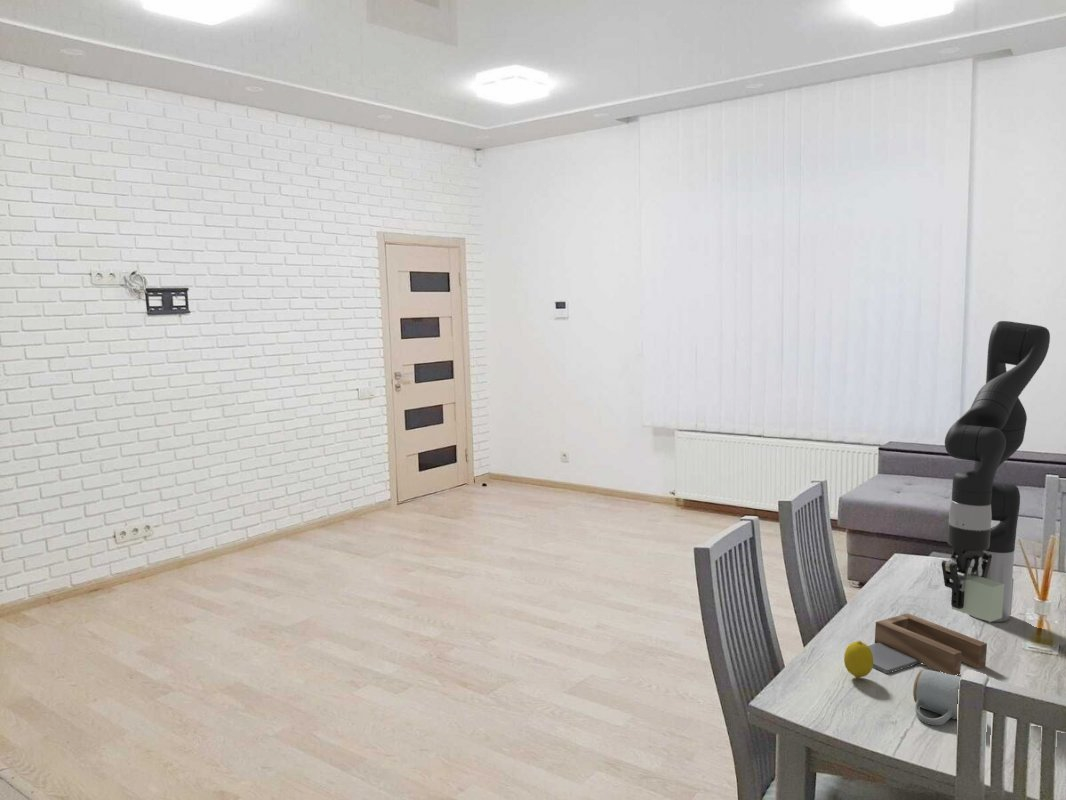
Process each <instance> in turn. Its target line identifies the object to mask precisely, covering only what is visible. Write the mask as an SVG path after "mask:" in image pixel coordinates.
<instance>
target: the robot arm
mask: <svg viewBox="0 0 1066 800" xmlns="http://www.w3.org/2000/svg"><path fill="white" fill-rule="evenodd" d="M1050 342H1051V333H1050V331H1049V329H1048V328H1047V327H1046V326H1042V325H1037V324H1031V323H1030V324H1029V323H1024V322H1016V321H1009V320H1000V321H998V322H996V323H995V324H994V325H993V327H992V329H991V332H990V333H989V338H988V343H987V345H988V347H987V359H986V379H985V384H984V385H983V386H982V387H981V388H980V389H979V391H978V392H977V394H976V396H975V397H974V400H973V402H972V404H971V406H970V408H969V409H968V410H967V411H965V412H964V414H963V415H962V416H961V417H959V418H958V419H957V420H956V421H955V422H954V423H953V424H952V425H951V426H950V428H949V429H948V431H947V433H946V435H945V438H944V448H945V451H946V452H947V454H948V455H949V456H950V457H951V458H953V459H959V460H965V461H972V462H973V461H974V466H973V468H972V470H961V471H957V472H955V474H954V475H953V478H952V484H951V485H952V488H951V499H950V500H951V502H950V506H949V513H948V525H947V526H948V529H947V530H948V531H947V543H948V545H949V546H950V547H951V548H952V552H951V555H950V559H949V560H942V561H941V569H942V575H943V583H944V586H945V587H946V588H949V589H951V601H950V602H951V603H950V604H951V607H952V606H953V607H955V608H958V609H961V608H963V607H964V592H965V591H964V590H965V585H966V581H967V580H969V579H970V575H974V576H978V577H983V578H986V579H990V580H993V581H996V582H1000V583H1003V584H1004V597H1003V610H1002V618H1000V619H997V620H994V621H993V622H996V623H998V622H1000V623H1002V622H1007V621H1009V620H1010V615H1011V616H1012V607H1013V595H1014V577H1013V575H1014V574H1013V573H1014V563H1015V562H1014V561H1015V550H1016V540H1017V539H1016V536H1017V527H1018V521H1019V520H1018V519H1019V515H1020V514H1019V513H1020V504H1021V494H1020V489H1019V487H1018V485H1016V484H1014V483H1006V482H994V480H995V477H996V473H997V470H998V468H999V467H1000V466H1001V465H1002V464H1003V463H1005V462H1006V461H1007V460H1008V459H1010V457H1011V456H1013V455H1014V454H1015V453H1016V452H1017V451H1018V450H1019V448H1020V447H1021V446H1022V444H1023V442H1024V438H1025V432H1026V425H1027V421H1028V417H1027V412H1026V410H1025V407H1024V405H1023V403H1022V402H1021V399H1020V398H1019V396H1020V395H1021V394H1022V392H1023V391H1024V390H1025V388H1026V387H1027V386H1028V384H1029V383H1030V382H1031V381H1032V379H1033V377H1034V376H1035V375H1036V373H1037V372H1038V370H1039V369H1040V368H1041V366H1042V365H1043V363H1044V361H1045V358H1046V356H1047V354H1048V351H1049V348H1050ZM1006 365H1012V366H1013V367H1011V369H1009V370H1007V366H1006ZM992 521H997V522H999V523H998V524H996V525H995V526H992ZM961 573H963V574H964V575H960V574H961ZM959 579H961V582H960V585H959ZM970 616H971V617H973V618H975V619H979V620H983V619H980V618H977V617H975V616H972V615H970ZM983 621H984V620H983Z"/></svg>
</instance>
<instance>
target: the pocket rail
mask: <svg viewBox="0 0 1066 800" xmlns="http://www.w3.org/2000/svg"><path fill="white" fill-rule="evenodd" d="M874 628H875V631H874V644H875V643H881V644H883V645H885V646H888V647H890V648H892V649H894V650H897V651H899V652H901V653H904V654H906V655H908V656H910V657H913V658H915V659H917V660H919V662H920V663H919V664H921V663H923V664H924V665H923V664H922V665H923V666H925V665H927V666H926V667H928V668H930V667H931V668H930V669H932V668H933V669H932V670H934V669H936V670H935V671H937V670H938V671H937V672H939V671H941V672H943V673H946V674H950V675H957V674H958V676H960V675H961V670H962V669H961V668H962V667H961V666H962V663H963V662H964V664H966V665H969V666H971V667H973V668H975V669H981V668H984V667H986V663H987V652H988V651H987V650H988V643H986V642H984V641H981V640H979V639H977V638H973V637H971V636H968V635H967V634H966V635H965V634H963V633H962V632H961V633H960V632H958V631H955V630H953V629H950V628H947V627H945V626H942V625H940V624H937V623H935V622H932V621H931V620H930V621H929V620H927V619H924V618H921V617H919V616H916V615H914V614H911V613H909V612H907V613H904V614H900V615H897V616H893V617H889V618H886V619H883V620H878V621H875V627H874ZM961 661H962V662H961ZM959 674H960V675H959Z"/></svg>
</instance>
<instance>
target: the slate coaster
mask: <svg viewBox="0 0 1066 800" xmlns="http://www.w3.org/2000/svg"><path fill="white" fill-rule="evenodd" d="M867 646H868V647H869V648H870V649H871V652H872V655H873V667H872V668H874V669H876V670H877V671H880V670H881V671H880V672H882V671H883V672H882V673H884V672H885V673H884V674H886V673H888V674H890V673H889V672H891V673H893V672H892V671H894V672H896V671H895V670H897V671H899V670H898V669H900V670H902V669H901V668H903V669H906V668H909V667H908V666H910V667H912V666H911V665H913V664H916V665H918V664H919V663H918V662H919V660H917V659H915V658H913V657H910V656H908V655H906V654H904V653H901V652H899V651H897V650H894V649H892V648H890V647H888V646H885V645H883V644H881V643H876V644H875V643H873V644H871V645H867ZM917 663H918V664H917ZM913 666H914V665H913ZM905 667H906V668H905Z"/></svg>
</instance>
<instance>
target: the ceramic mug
mask: <svg viewBox="0 0 1066 800" xmlns="http://www.w3.org/2000/svg"><path fill="white" fill-rule="evenodd" d="M961 677H962V676H960V675H958V676H955V675H950V674H945V673H941V672H939V671H937V670H933V669H932V670H931V669H922V670H920V671H919V672H918V673H917V674H916V676H915V679H914V682H913V688H912V689H913V690H912V696H913V701H914V703H915V705H914V708H915V709H914V710H915V713H916V716H917V718H918V719H919V720H920V722H923V723H924V722H926V723H925V724H927V723H929V724H928V725H930V724H933V725H932V726H941V725H944V724H946V723H947V722H948V721H949V720H950V719H953V720H955V719H957V704H958V689H959V681H960V678H961ZM920 708H922V709H924V710H927V711H930V712H933V713H936V714H938V715H941V716H939V717H936V718H930V717H927V716H925V715H923V714H922V713H921V712H920V711H919V709H920ZM950 717H951V718H950ZM954 718H955V719H954ZM940 724H941V725H940Z"/></svg>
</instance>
